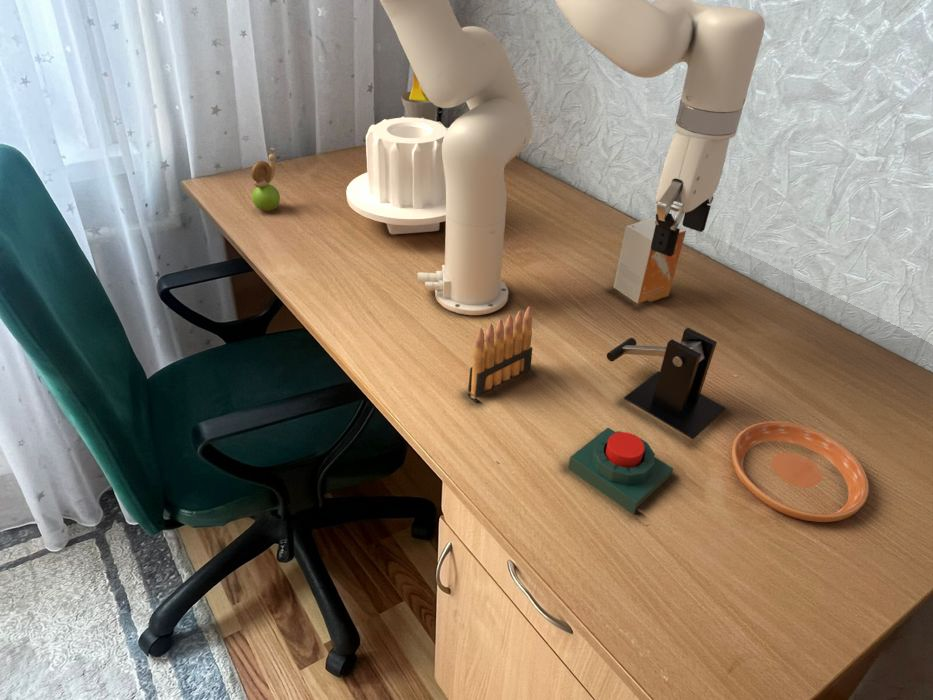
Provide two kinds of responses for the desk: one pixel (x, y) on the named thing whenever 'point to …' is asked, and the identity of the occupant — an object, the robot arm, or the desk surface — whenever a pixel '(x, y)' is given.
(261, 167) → the snail figurine
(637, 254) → the small box
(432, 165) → the ribbed cylinder on disc
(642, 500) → the button block
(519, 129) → the robot arm
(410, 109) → the lava lamp
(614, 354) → the lever
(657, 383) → the stand
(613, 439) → the button
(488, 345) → the ammunition clip
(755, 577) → the desk surface
